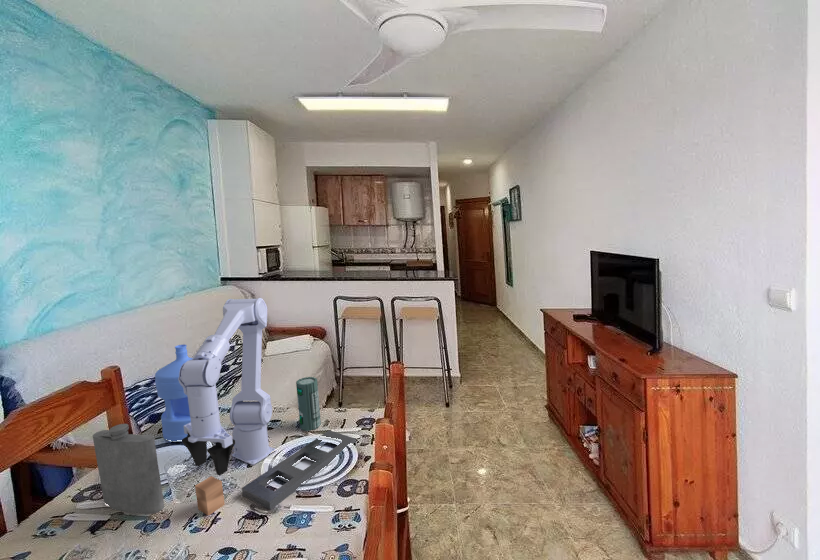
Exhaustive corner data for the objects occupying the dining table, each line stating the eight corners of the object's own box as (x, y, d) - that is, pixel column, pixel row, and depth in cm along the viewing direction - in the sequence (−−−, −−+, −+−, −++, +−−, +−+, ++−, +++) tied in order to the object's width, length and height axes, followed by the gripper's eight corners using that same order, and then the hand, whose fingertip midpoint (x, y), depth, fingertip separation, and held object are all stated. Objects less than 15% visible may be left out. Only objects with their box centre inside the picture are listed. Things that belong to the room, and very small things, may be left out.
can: (306, 420, 133) (303, 376, 131) (323, 422, 131) (320, 377, 129) (297, 429, 127) (292, 384, 125) (314, 431, 125) (310, 385, 123)
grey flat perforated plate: (242, 495, 97) (241, 488, 97) (329, 436, 122) (329, 430, 122) (270, 509, 92) (269, 501, 91) (355, 444, 117) (355, 438, 117)
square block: (198, 509, 93) (194, 485, 92) (214, 499, 96) (211, 476, 95) (208, 515, 91) (205, 491, 90) (224, 504, 94) (221, 481, 93)
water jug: (194, 416, 139) (184, 337, 135) (229, 422, 134) (220, 340, 129) (151, 440, 125) (138, 352, 121) (189, 448, 119) (176, 356, 115)
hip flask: (167, 504, 95) (155, 424, 92) (152, 517, 91) (140, 434, 88) (113, 496, 99) (100, 419, 96) (97, 508, 95) (83, 428, 92)
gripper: (167, 413, 91) (175, 469, 93) (208, 427, 83) (216, 487, 85) (197, 400, 97) (204, 453, 99) (237, 412, 89) (244, 469, 91)
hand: (211, 468), depth 92 cm, fingers open, 7 cm apart
